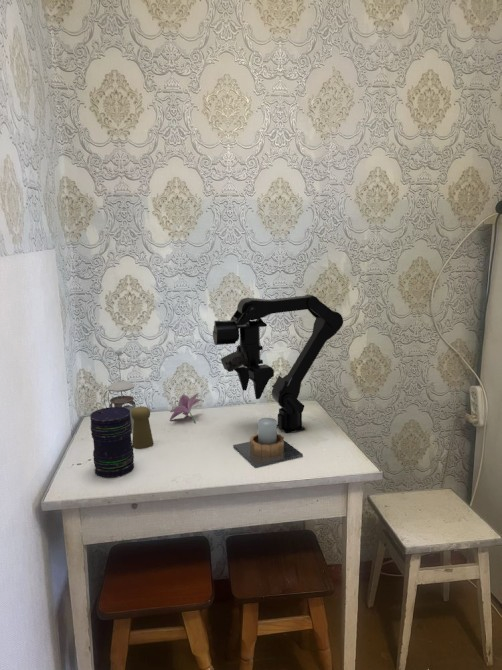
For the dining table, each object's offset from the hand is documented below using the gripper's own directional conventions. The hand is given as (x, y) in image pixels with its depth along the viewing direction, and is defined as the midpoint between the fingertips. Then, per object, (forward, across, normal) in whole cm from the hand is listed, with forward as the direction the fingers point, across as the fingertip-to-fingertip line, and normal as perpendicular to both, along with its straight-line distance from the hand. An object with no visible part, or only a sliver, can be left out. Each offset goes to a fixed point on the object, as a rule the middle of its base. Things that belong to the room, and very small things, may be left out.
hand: (250, 394), depth 147 cm
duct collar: (+12, +14, -2) cm, 19 cm away
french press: (+12, -22, -34) cm, 42 cm away
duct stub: (+11, +14, -2) cm, 18 cm away
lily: (+12, -20, -14) cm, 27 cm away
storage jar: (+12, +5, -41) cm, 43 cm away
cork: (+12, -7, -31) cm, 34 cm away
